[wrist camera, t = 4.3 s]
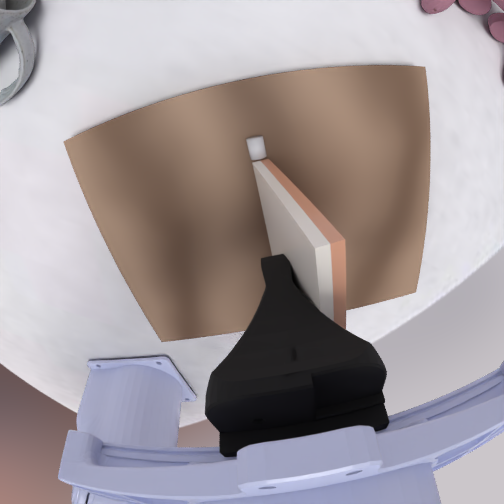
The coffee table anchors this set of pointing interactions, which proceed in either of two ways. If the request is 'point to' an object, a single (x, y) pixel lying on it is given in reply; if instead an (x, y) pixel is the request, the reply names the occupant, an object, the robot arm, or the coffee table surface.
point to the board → (246, 191)
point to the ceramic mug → (17, 41)
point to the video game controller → (475, 3)
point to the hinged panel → (302, 237)
